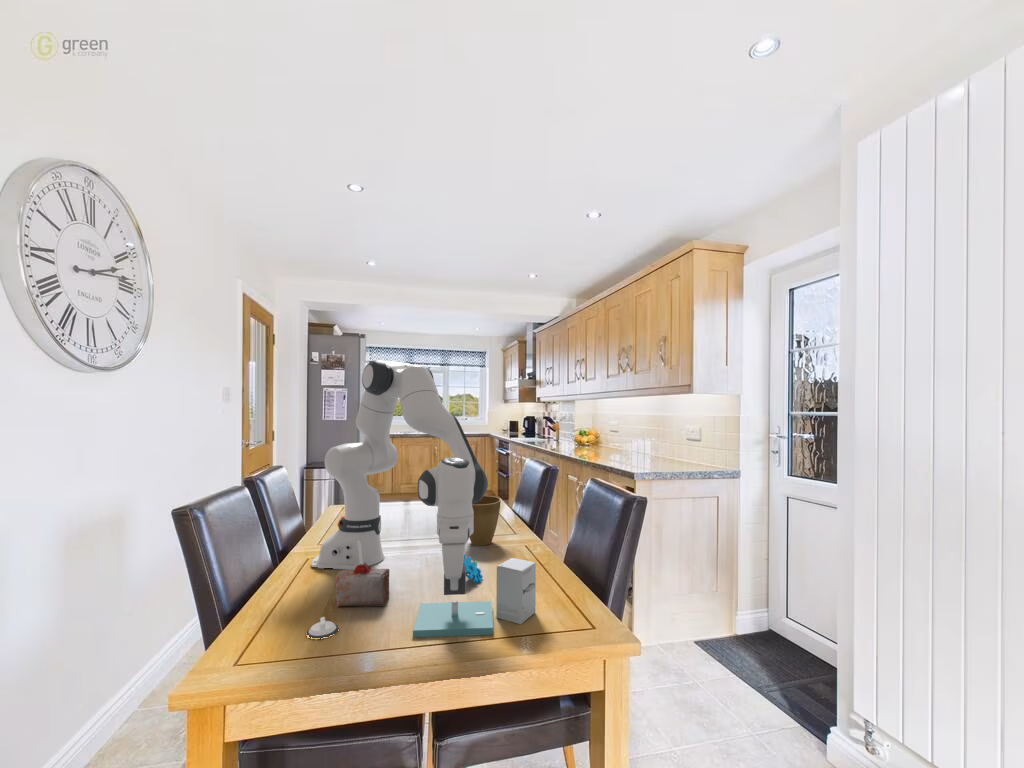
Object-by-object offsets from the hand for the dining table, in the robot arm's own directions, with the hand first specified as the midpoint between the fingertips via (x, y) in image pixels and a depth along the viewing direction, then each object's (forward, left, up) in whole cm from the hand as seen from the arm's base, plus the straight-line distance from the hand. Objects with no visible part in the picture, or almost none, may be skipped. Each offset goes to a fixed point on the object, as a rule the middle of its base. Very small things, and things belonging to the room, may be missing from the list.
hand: (455, 583), depth 112 cm
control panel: (0, 0, -9) cm, 9 cm away
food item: (-25, +12, -9) cm, 29 cm away
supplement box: (+15, +2, -9) cm, 18 cm away
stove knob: (-30, -3, -10) cm, 32 cm away
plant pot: (+6, +61, -9) cm, 62 cm away
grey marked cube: (0, 0, -2) cm, 2 cm away
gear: (+3, +25, -9) cm, 27 cm away
